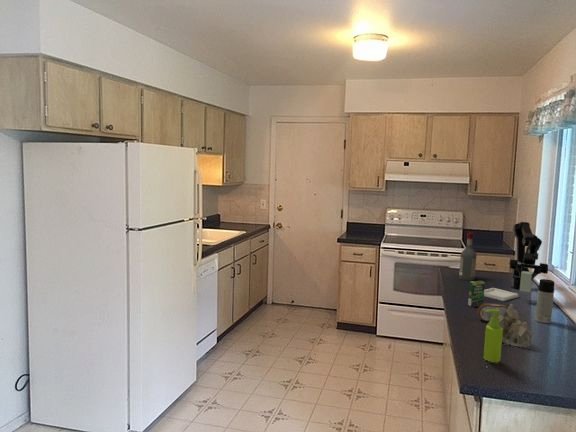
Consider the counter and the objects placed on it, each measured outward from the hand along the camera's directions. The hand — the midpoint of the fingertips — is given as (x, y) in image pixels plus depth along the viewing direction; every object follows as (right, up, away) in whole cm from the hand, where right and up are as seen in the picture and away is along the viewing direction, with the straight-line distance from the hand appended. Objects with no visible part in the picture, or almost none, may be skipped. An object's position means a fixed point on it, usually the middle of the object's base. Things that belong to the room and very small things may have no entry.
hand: (526, 279), depth 259 cm
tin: (-30, -16, -30) cm, 45 cm away
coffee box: (-29, -13, -6) cm, 33 cm away
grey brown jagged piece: (-35, -19, -54) cm, 68 cm away
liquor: (-12, -7, +53) cm, 55 cm away
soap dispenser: (-51, -21, -77) cm, 95 cm away
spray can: (-6, -17, -28) cm, 33 cm away
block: (+1, -6, +2) cm, 7 cm away
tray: (-9, -11, +15) cm, 21 cm away
